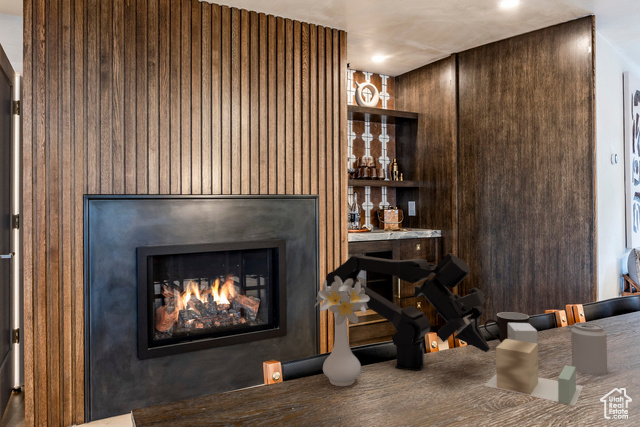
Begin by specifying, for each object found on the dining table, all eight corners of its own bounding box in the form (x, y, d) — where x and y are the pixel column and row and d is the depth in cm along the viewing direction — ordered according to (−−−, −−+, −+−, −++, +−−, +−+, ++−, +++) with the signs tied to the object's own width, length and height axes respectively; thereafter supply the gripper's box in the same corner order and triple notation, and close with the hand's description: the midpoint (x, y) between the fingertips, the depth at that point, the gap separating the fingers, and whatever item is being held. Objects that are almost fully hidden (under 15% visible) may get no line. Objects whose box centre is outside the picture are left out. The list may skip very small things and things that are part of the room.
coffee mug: (531, 348, 129) (531, 314, 129) (527, 356, 122) (526, 320, 122) (489, 342, 135) (489, 309, 135) (483, 350, 128) (483, 316, 128)
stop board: (558, 401, 91) (558, 377, 91) (565, 387, 98) (565, 365, 98) (569, 404, 90) (569, 380, 90) (576, 389, 97) (575, 366, 97)
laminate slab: (484, 389, 100) (484, 385, 100) (499, 373, 110) (499, 369, 110) (575, 410, 89) (575, 405, 89) (583, 390, 99) (583, 386, 99)
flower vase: (329, 402, 96) (327, 287, 95) (309, 372, 113) (307, 275, 113) (385, 394, 99) (382, 283, 99) (356, 366, 117) (354, 272, 117)
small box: (538, 372, 110) (538, 330, 110) (514, 371, 111) (514, 330, 111) (530, 361, 118) (529, 322, 117) (508, 360, 119) (507, 322, 119)
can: (602, 369, 111) (601, 321, 111) (611, 380, 104) (610, 329, 104) (569, 366, 114) (568, 320, 114) (575, 377, 107) (574, 327, 106)
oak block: (496, 387, 99) (495, 347, 99) (506, 376, 105) (505, 338, 105) (530, 394, 95) (529, 353, 95) (538, 382, 101) (537, 343, 101)
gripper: (449, 284, 100) (501, 340, 93) (476, 273, 115) (523, 321, 108) (418, 314, 105) (465, 369, 98) (448, 300, 119) (490, 348, 113)
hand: (488, 350), depth 104 cm, fingers closed
